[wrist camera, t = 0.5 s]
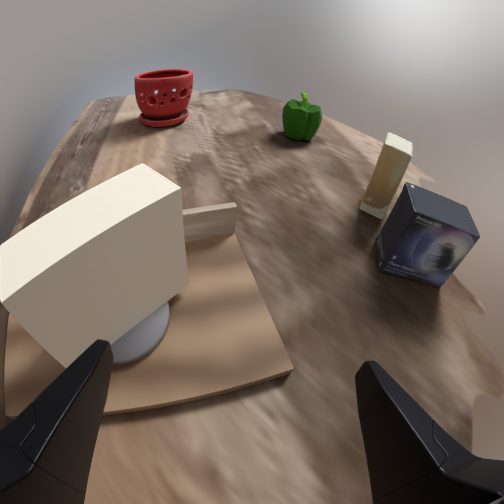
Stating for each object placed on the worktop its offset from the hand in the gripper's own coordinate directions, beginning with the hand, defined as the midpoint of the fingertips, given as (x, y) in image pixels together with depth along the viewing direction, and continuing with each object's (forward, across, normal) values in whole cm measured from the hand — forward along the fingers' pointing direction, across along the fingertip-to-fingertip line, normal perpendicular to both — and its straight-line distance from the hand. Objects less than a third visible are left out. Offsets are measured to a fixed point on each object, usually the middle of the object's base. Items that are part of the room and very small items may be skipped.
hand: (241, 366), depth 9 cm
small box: (+23, -25, +8) cm, 35 cm away
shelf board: (+13, +10, +14) cm, 21 cm away
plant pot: (+62, +17, 0) cm, 65 cm away
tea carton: (+13, +10, +12) cm, 20 cm away
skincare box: (+35, -23, +5) cm, 42 cm away
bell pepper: (+57, -13, -1) cm, 59 cm away
